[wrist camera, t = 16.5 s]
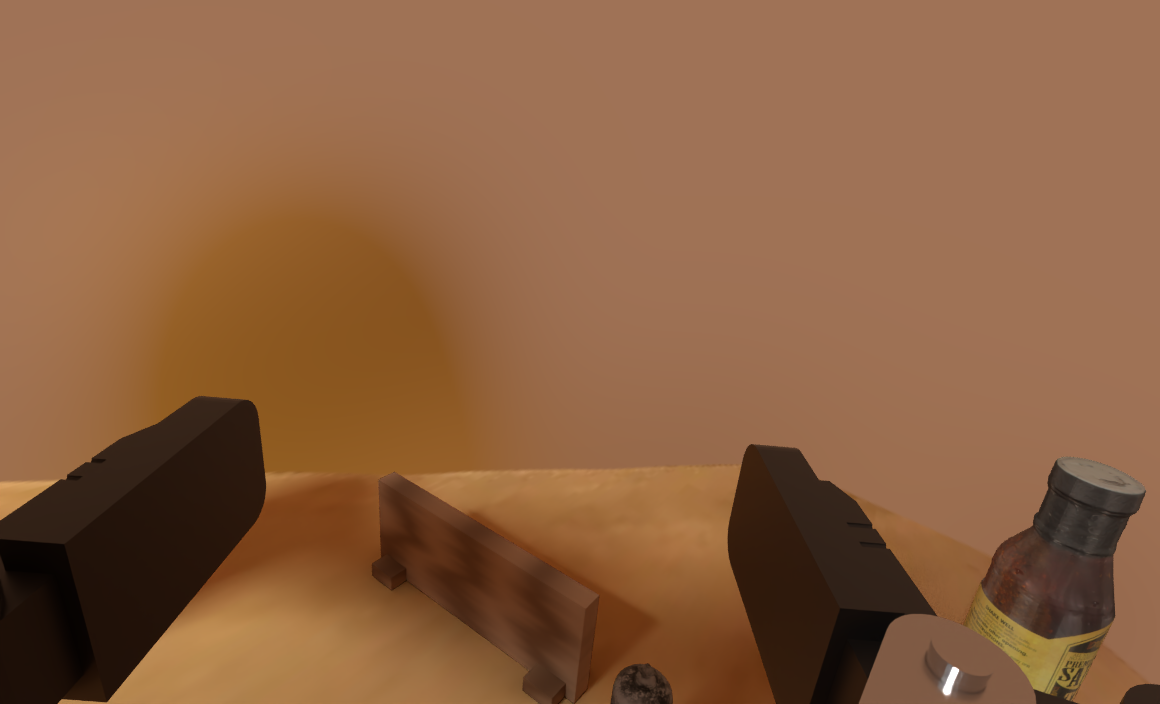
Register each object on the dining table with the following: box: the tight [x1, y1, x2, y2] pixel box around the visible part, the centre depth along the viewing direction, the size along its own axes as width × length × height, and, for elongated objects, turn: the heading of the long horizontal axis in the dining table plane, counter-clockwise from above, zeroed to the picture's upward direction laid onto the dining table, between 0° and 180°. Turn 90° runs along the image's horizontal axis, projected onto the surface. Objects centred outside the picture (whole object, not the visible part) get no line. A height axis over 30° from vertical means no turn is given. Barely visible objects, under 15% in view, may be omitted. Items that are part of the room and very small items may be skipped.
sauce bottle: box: [963, 457, 1146, 701], centre depth 37 cm, size 7×6×20 cm
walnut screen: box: [372, 472, 599, 704], centre depth 44 cm, size 20×4×8 cm, turn 54°
